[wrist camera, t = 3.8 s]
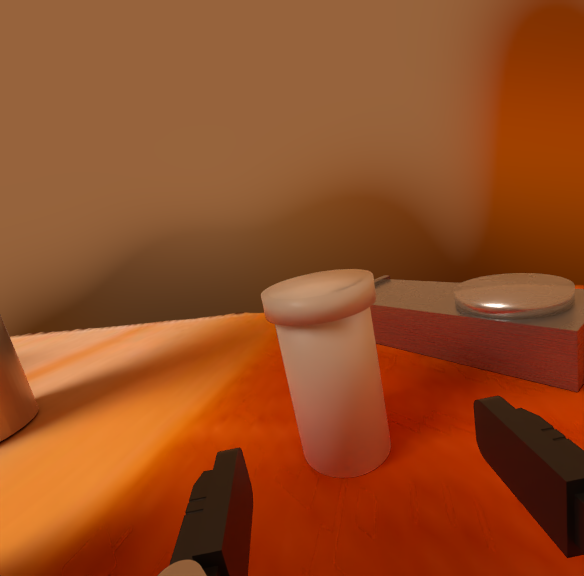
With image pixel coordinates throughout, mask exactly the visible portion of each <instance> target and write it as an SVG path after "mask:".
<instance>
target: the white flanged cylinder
mask: <svg viewBox="0 0 584 576" xmlns="http://www.w3.org/2000/svg"><path fill="white" fill-rule="evenodd" d="M261 299H262V303H263V307H264V311H265V316H266V319H267V320H268V321H269V322H271V323H274V324H275V327H276V331H277V336H278V340H279V345H280V349H281V354H282V358H283V363H284V367H285V372H286V376H287V381H288V385H289V390H290V394H291V399H292V403H293V408H294V412H295V417H296V421H297V426H298V430H299V435H300V439H301V444H302V448H303V453H304V456H305V459H306V461H307V463H308V464H309V465H310V466H311V467H312V468H313V469H314V470H316V471H318V472H319V473H321V474H324V475H327V476H331V477H337V478H350V477H357V476H361V475H364V474H367V473H369V472H371V471H373V470H374V469H376V468H377V467H379V466H380V465H381V464H382V463H383V462H384V461H385V460H386V458H387V457H388V455H389V453H390V449H391V440H390V433H389V427H388V420H387V414H386V407H385V401H384V394H383V388H382V381H381V375H380V368H379V362H378V355H377V349H376V342H375V336H374V330H373V323H372V317H371V310H370V306H372V305H373V304H374V303H375V301H376V291H375V284H374V278H373V274H372V273H371V272H370V271H367V270H360V269H340V270H330V271H323V272H317V273H312V274H307V275H303V276H299V277H295V278H291V279H288V280H285V281H282V282H279V283H277V284H275V285H273V286H270V287H269V288H267V289H266V290H264V291H263V292H262V293H261Z"/></svg>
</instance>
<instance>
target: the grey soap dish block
mask: <svg viewBox="0 0 584 576" xmlns="http://www.w3.org/2000/svg"><path fill="white" fill-rule="evenodd" d="M374 284H375V291H376V301H375V303H374V304H373V305H372V306H370V310H371V317H372V323H373V330H374V336H375V342H376V343H377V344H381V345H385V346H390V347H394V348H398V349H402V350H406V351H410V352H414V353H418V354H423V355H427V356H431V357H435V358H439V359H443V360H447V361H451V362H455V363H460V364H464V365H468V366H472V367H476V368H480V369H484V370H488V371H493V372H497V373H501V374H505V375H509V376H513V377H517V378H521V379H526V380H530V381H534V382H538V383H542V384H546V385H550V386H554V387H558V388H563V389H567V390H571V391H575V392H578V391H579V390H580V388H581V387H582V385H583V384H584V289H575V285H574V283H573V282H572V281H570V280H568V279H566V278H563V277H558V276H553V275H546V274H534V273H511V274H498V275H491V276H484V277H479V278H474V279H471V280H468V281H465V282H462V283H450V282H431V281H410V280H391V279H390V276H386V275H384V276H382V277H380V278H377V279H375V280H374Z"/></svg>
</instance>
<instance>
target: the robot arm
mask: <svg viewBox="0 0 584 576" xmlns="http://www.w3.org/2000/svg"><path fill="white" fill-rule="evenodd" d="M37 412H38V405H37V403H36V400H35V398H34V395H33V393H32V390H31V388H30V386H29V383H28V381H27V378H26V376H25V373H24V370H23V368H22V366H21V363H20V361H19V358H18V356H17V354H16V351H15V349H14V346H13V344H12V342H11V339H10V337H9V335H8V332H7V330H6V327H5V325H4V323H3V320H2V318H1V315H0V442H1V441H2V440H4V439H6V438H7V437H9V436H11V435H12V434H14V433H15V432H17V431H18V430H20V429H21V428H22V427H24V426H25V425H26V424H27V423H29V422H30V421H31V420H32V419H33V418H34V417H35V415H36V414H37ZM474 417H475V429H476V440H477V444H478V447H479V450H480V452H481V454H482V456H483V457H484V459H485V460H486V462H487V463H488V464H489V465H490V466H491V467H492V469H493V470H494V471H495V472H496V473H497V475H498V476H499V477H500V478H501V479H502V481H503V482H504V483H505V484H506V485H507V487H508V488H509V489H510V490H511V491H512V493H513V494H514V495H515V496H516V497H517V499H518V500H519V501H520V502H521V503H522V504H523V506H524V507H525V508H526V509H527V510H528V512H529V513H530V514H531V515H532V516H533V518H534V519H535V520H536V521H537V522H538V524H539V525H540V526H541V527H542V528H543V530H544V531H545V532H546V533H547V534H548V536H549V537H550V538H551V539H552V540H553V541H554V543H555V544H556V545H557V546H558V547H559V549H560V550H561V551H562V552H563V553H564V555H565V556H566V557H567V558H570V557H575V556H580V555H584V450H582V449H581V448H580V447H578V446H577V445H576V444H575V443H573V442H572V441H571V440H569V439H566V437H565V436H564V435H563V434H562V433H560V432H559V431H558V430H557V429H554V428H553V426H551V425H550V424H549V423H548V422H546V421H545V420H544V419H543V418H541V417H540V416H538V415H536V414H534V413H531V412H529V411H527V410H525V409H522V408H518V409H515V408H514V407H513V406H512V405H510V404H509V403H508V402H507V401H506V400H504V399H503V398H502V397H500V396H494V397H489V398H484V399H479V400H475V402H474ZM185 513H186V515H185V516H184V519H183V522H182V525H181V529H180V532H179V535H178V539H177V542H176V545H175V548H174V552H173V555H172V558H171V562H170V565H169V566H168V567H167V568H165V569H164V570H163V571H162V572H161V573H160V574H159V575H158V576H248V563H249V551H250V538H251V526H252V513H253V493H252V487H251V482H250V479H249V475H248V471H247V468H246V464H245V460H244V456H243V453H242V450H241V448H235V449H230V450H225V451H220V452H218V453H217V456H216V460H215V464H214V468H213V470H209V471H204V472H203V473H202V474H201V476H200V477H199V479H198V480H197V481H196V483H195V484H194V486H193V489H192V492H191V496H190V499H189V503H188V506H187V509H186V512H185Z"/></svg>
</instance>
